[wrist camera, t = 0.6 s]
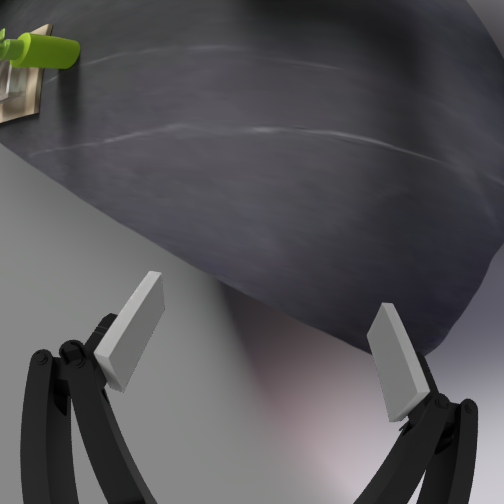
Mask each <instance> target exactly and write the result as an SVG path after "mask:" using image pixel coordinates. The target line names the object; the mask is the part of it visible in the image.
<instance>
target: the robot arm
mask: <svg viewBox="0 0 504 504" xmlns="http://www.w3.org/2000/svg"><path fill="white" fill-rule="evenodd" d="M164 310H165V305H164V295H163V284H162V273H159V272H154V271H149V273H148V274H147V275H146V277H145V278H144V279H143V281H142V282H141V283H140V285H139V286H138V288H137V289H136V290H135V292H134V293H133V295H132V296H131V297H130V299H129V300H128V302H127V303H126V305H125V306H124V307H123V309H122V310H121V312H120V313H119V315H115V314H112V313H110V314H108V315H107V316H106V317H104V318H103V319H102V321H101V322H100V323H99V325H98V327H96V329H95V330H94V332H93V333H92V335H91V336H90V338H89V339H88V340H87V342H86V343H85V345H83V343H81V342H80V341H78V340H69V341H66V342H65V343H64V344H62V345H61V347H60V349H59V355H60V357H61V358H58V357H53V356H52V354H51V352H50V351H48V350H45V349H42V350H38V351H36V352H35V353H34V354H33V355H32V358H31V361H30V366H29V371H28V376H27V382H26V388H25V396H24V403H23V412H22V424H21V447H20V448H21V449H20V458H21V459H20V461H21V483H22V493H23V502H24V504H79V502H78V496H77V490H76V483H75V476H74V467H73V456H72V441H71V399H72V403H73V407H74V411H75V415H76V419H77V422H78V425H79V429H80V433H81V436H82V439H83V442H84V445H85V448H86V451H87V454H88V457H89V460H90V462H91V465H92V467H93V470H94V473H95V475H96V478H97V480H98V482H99V485H100V487H101V489H102V491H103V493H104V496H105V498H106V499H107V502H108V504H157V502H156V501H155V499H154V498H153V496H152V494H151V492H150V490H149V489H148V487H147V485H146V483H145V482H144V480H143V478H142V476H141V474H140V472H139V470H138V468H137V466H136V464H135V462H134V460H133V458H132V456H131V454H130V452H129V450H128V447H127V445H126V443H125V441H124V438H123V436H122V434H121V431H120V429H119V426H118V424H117V421H116V419H115V416H114V413H113V411H112V408H111V405H110V402H109V399H108V397H107V393H106V391H105V388H104V386H105V385H106V383H108V384H109V387H110V388H112V389H114V390H118V391H120V392H124V391H125V388H126V386H127V384H128V382H129V380H130V378H131V376H132V374H133V372H134V370H135V367H136V365H137V363H138V361H139V359H140V357H141V355H142V353H143V351H144V349H145V347H146V345H147V343H148V341H149V339H150V337H151V335H152V333H153V331H154V329H155V327H156V325H157V323H158V321H159V319H160V318H161V316H162V314H163V312H164ZM367 338H368V341H369V344H370V348H371V351H372V355H373V358H374V362H375V365H376V369H377V372H378V376H379V380H380V384H381V387H382V392H383V395H384V400H385V404H386V408H387V413H388V417H389V422H396V421H402V420H403V419H404V418H405V417H406V416H407V415H408V418H409V421H408V422H406V423H405V424H404V425H403V426H402V427H401V428H400V429H399V431H401V430H402V429H403V430H402V432H401V434H400V435H399V437H398V439H397V441H396V442H395V444H394V446H393V448H392V449H391V451H390V452H389V455H388V456H387V457H386V459H385V460H384V462H383V464H382V465H381V467H380V468H379V470H378V471H377V473H376V474H375V476H374V477H373V478H372V480H371V482H370V483H369V484H368V485H367V487H366V488H365V489H364V491H363V492H362V494H361V495H360V496H359V497H358V498H357V500H356V501H355V502H354V503H353V504H407V503H408V501H409V500H410V498H411V496H412V495H413V493H414V491H415V489H416V488H417V486H418V484H419V482H420V480H421V478H422V476H423V474H424V472H425V470H426V472H425V476H424V480H423V484H422V488H421V491H420V494H419V497H418V500H417V503H416V504H468V502H469V497H470V493H471V488H472V482H473V476H474V469H475V461H476V460H475V459H476V450H477V436H478V407H477V405H476V403H475V402H474V401H473V400H471V399H465V400H463V401H462V402H461V403H460V404H457V403H452V402H450V401H449V399H448V398H447V397H446V396H445V395H444V394H441V393H439V392H438V389H437V386H436V384H435V381H434V379H433V376H432V374H431V373H430V369H429V367H428V364H427V362H426V359H425V358H424V356H423V355H422V354H421V353H420V352H415V351H414V349H413V347H412V344H411V342H410V340H409V337H408V335H407V333H406V331H405V328H404V326H403V324H402V322H401V320H400V318H399V315H398V313H397V311H396V309H395V307H394V305H393V304H391V303H382V305H381V307H380V309H379V311H378V313H377V315H376V318H375V320H374V322H373V324H372V326H371V328H370V330H369V332H368V334H367Z"/></svg>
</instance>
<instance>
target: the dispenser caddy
mask: <svg viewBox="0 0 504 504" xmlns="http://www.w3.org/2000/svg"><path fill="white" fill-rule="evenodd" d="M52 26H53V25H52V24H47V25H45V26H43V27H41V28H39V29H37V30H35V31H33V32H31V33H33V34H40V35H47V36H50V34H51V30H52ZM43 69H44V68H34V67H12V66H11V65H10V60H0V123H2V122H5V121H9V120H12V119H16V118H19V117H23V116H27V115H31V114H35V113H39V104H40V93H41V84H42V76H43Z"/></svg>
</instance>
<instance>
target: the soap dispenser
mask: <svg viewBox="0 0 504 504" xmlns="http://www.w3.org/2000/svg"><path fill="white" fill-rule="evenodd" d="M4 36H5V28H4V29H3V30H1V31H0V42H2V41H3V40H4ZM79 53H80V45H79V43H78V42H77V41H73V40H69V39H64V38H58V37H53V36H47V35H40V34H33V33H24V34H22V35H21V36H20V37H19V38H18V39H17V40H16V39H7V40H5V41H4V42H3V44H0V60H10V65H11V66H12V67H34V68H57V69H67V68H69V67H71V66H72V65H73V64H74V63H75V62H76V60H77V58H78V56H79Z"/></svg>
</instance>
